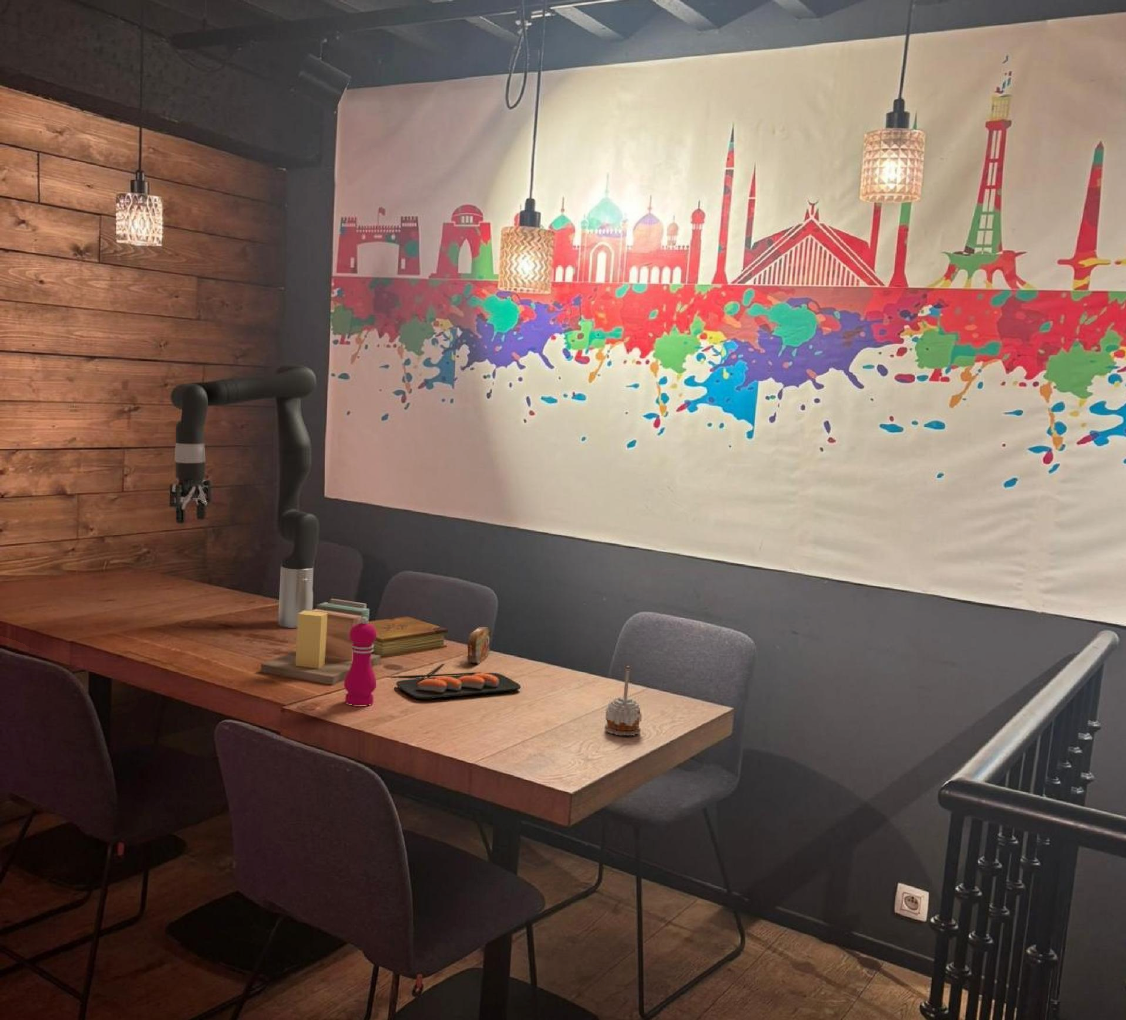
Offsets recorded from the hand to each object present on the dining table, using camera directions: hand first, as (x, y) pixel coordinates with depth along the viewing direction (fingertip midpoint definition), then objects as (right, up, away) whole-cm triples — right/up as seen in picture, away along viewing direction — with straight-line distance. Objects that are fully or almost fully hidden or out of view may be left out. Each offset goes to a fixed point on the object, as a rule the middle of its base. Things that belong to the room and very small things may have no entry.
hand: (191, 521), depth 288 cm
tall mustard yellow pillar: (+36, -35, -20) cm, 54 cm away
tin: (+76, -38, +5) cm, 85 cm away
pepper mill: (+52, -41, -41) cm, 78 cm away
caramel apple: (+112, -47, -47) cm, 130 cm away
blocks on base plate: (+38, -37, -14) cm, 55 cm away
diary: (+51, -35, +14) cm, 64 cm away
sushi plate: (+69, -40, -18) cm, 82 cm away
